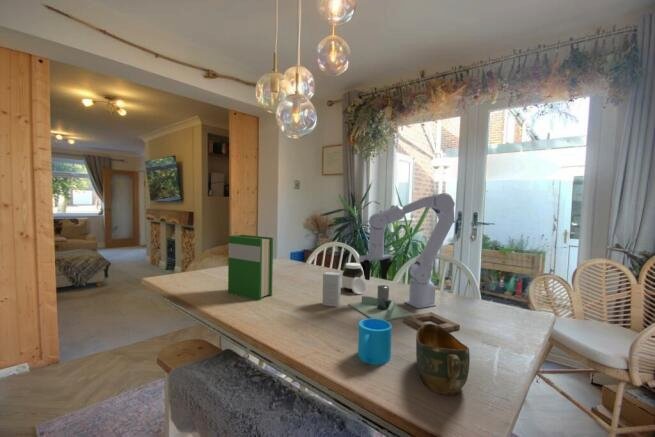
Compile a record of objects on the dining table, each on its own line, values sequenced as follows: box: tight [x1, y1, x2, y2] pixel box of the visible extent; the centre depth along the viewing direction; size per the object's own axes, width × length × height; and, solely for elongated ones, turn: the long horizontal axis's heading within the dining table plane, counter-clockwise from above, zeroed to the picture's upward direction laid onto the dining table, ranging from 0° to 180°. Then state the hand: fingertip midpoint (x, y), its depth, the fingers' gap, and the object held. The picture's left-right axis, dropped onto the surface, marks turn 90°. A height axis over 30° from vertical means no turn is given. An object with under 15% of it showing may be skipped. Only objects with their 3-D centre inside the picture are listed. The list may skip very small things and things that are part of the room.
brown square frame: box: [403, 311, 461, 333], centre depth 98 cm, size 12×12×2 cm
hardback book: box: [227, 234, 274, 301], centre depth 126 cm, size 18×7×24 cm, turn 59°
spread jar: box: [341, 262, 367, 295], centre depth 135 cm, size 12×11×12 cm
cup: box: [415, 323, 471, 396], centre depth 67 cm, size 13×20×10 cm, turn 146°
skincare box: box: [322, 271, 342, 308], centre depth 116 cm, size 6×4×12 cm
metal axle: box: [376, 284, 390, 310], centre depth 111 cm, size 4×4×8 cm
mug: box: [357, 318, 393, 366], centre depth 75 cm, size 12×8×8 cm
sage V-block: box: [348, 295, 416, 322], centre depth 111 cm, size 16×19×3 cm
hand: (375, 278), depth 119 cm, fingers open, 7 cm apart
